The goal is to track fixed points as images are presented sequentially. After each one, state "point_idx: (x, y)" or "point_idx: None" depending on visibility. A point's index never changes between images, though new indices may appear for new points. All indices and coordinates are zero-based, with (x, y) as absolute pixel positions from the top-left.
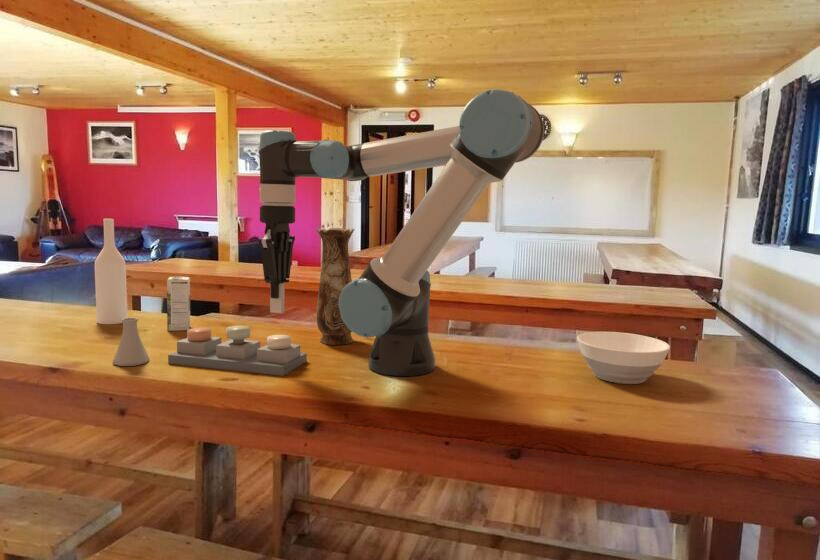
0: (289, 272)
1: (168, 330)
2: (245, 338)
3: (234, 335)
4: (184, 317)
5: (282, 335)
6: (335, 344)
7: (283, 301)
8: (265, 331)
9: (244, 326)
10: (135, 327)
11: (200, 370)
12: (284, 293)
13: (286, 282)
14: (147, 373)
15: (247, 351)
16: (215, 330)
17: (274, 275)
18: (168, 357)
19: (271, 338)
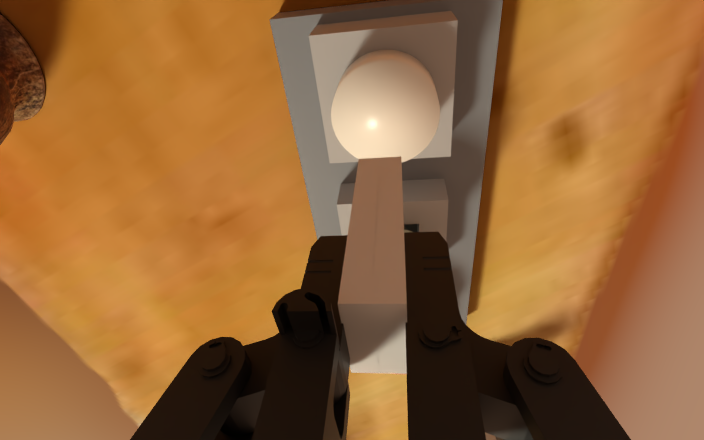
0: (177, 396)
1: None
2: (409, 231)
3: None
4: None
5: (343, 123)
6: (16, 30)
7: (368, 198)
8: (99, 291)
9: None
10: (490, 438)
11: (496, 245)
12: (348, 235)
13: (317, 299)
14: (546, 314)
15: (427, 191)
16: (183, 363)
17: (606, 418)
18: None
19: (417, 136)
